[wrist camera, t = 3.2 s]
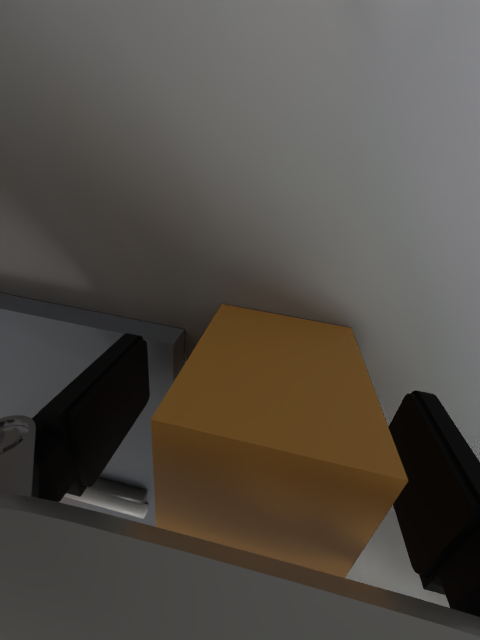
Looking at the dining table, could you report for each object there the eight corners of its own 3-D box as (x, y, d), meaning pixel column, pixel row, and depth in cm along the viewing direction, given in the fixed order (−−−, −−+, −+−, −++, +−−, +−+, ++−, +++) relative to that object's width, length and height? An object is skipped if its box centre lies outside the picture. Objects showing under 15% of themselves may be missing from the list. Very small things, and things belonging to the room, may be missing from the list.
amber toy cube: (351, 328, 10) (408, 481, 5) (318, 422, 13) (333, 594, 7) (221, 304, 11) (151, 418, 6) (213, 398, 13) (156, 543, 8)
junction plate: (184, 329, 12) (86, 457, 6) (179, 542, 20) (135, 677, 15) (-129, 267, 13) (-419, 325, 8) (-14, 487, 22) (-118, 589, 16)
